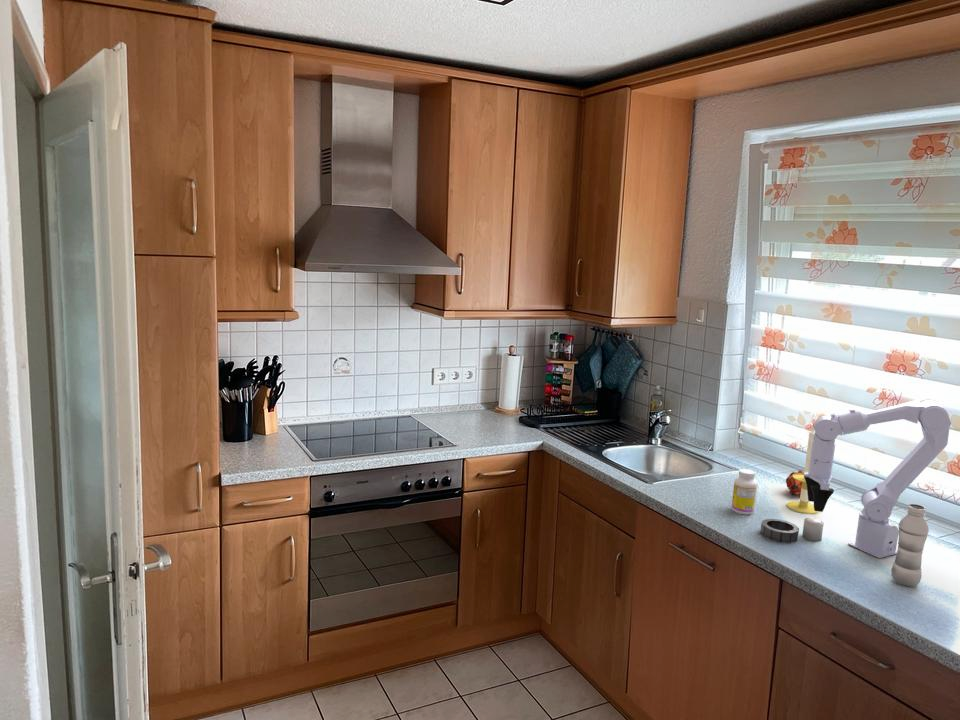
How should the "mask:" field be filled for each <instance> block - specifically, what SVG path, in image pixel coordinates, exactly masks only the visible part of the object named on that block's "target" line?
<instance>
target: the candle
mask: <svg viewBox="0 0 960 720" xmlns="http://www.w3.org/2000/svg"><path fill="white" fill-rule="evenodd" d="M814 434H815V430H814V427H813V426H812V429H811V430H810V431H809V433H808V441H807V447H806V448H807V449H806V454H805V455H806V456H805V463H804V470H803V473H804V472H808V471H809V464H810V457H811V449H812V442H813V441H814V440H813V437H814ZM793 478H794V479H795V480H797V481H800V482H802V488H801V495H799V496H800V497H799V501H797V500H791V501H787V502H786V507H787V508H788V509H789V510H791V511H793V512H797V513H800V514H806V515H807V514H808V515H815V514H817V513H818V514H819V511H815V510H814V503H809V501H808V494H807V485H806V481H805V478H804V474H800V473H799V474H794V475H793Z"/></svg>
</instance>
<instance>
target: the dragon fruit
mask: <svg viewBox="0 0 960 720" xmlns="http://www.w3.org/2000/svg"><path fill="white" fill-rule="evenodd" d="M799 473H800V474H804V471H803V470H798V471H797V472H794V471H793V472H791V473H789V475H788V476H787V477H786V479H785V483H786V487H787V489H788V490H789V492H790V495H791V496H795V497H796V496H800V495H801V488H802V482H800V481H797V480H795V479H794V478H793V475H794V474H799Z"/></svg>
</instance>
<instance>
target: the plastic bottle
mask: <svg viewBox="0 0 960 720" xmlns="http://www.w3.org/2000/svg"><path fill="white" fill-rule="evenodd" d="M906 513H907V514H906V515H905V516H903V517H902V518H901V519H900V521H899V523H898V531H899V534H898V540H897V549H896V551H897V554H895V557H894V558H895V559H894V562H893V564H892V566H891V578H892V579H893V580H894V582H896V583H897V584H900V585H903V586H904V587H905V586H906V587H916V586H918V585H919V584H920V583H921V580H922V562H923V561H922V558H923V551H924V547H925V543H926V541H927V538H928V534H929V531H930V529H929V525H928V522H927V521H926V520H925V517H926V507H925V506H922V505H921V504H917V503H910V504H908V507H907V510H906Z"/></svg>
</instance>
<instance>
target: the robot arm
mask: <svg viewBox="0 0 960 720" xmlns="http://www.w3.org/2000/svg"><path fill="white" fill-rule="evenodd" d="M899 420H905V421H908V422H912V423H914V424H918V422H919V424H920V426H921V431H922V437H923V438H922V439H921V440H920V441H919V443H917V444H916V446H915V447H913V449H912V450H911V451H910V452H909V453H908V454H907V455H906V456H905V457H904V458H903V460H902V461H901V462H899V464H897V466H896V467H895V468H894V469H893V470H892V471H891V472H890V474H888V475H887V477H885V479H884V480H883V481H881V482H879V483H877V484H876V485H875V486H873V487H872V488H870V489H867V490H865V491H864V492H863V494H862V495H861V496H860V497H861V498H860V501H861V504H862V506H863V508H862V510H861V511H860V512H859V513H858V522H857V528H856V534H855V540H853V541H849V542H847V545H848V546H851V547H854V548H855V549H858V550H860V551H862V552H865V553H867V554H869V555H871V556H873V557H875V558H878V559H881V558H884V557H889V556H892V555H896V554H897V547H898V540H899V527H898V526H896V525H895V524H893V523H892V522H891V521H890V517H891V515H892V512H893V509H894V507H896V505H897V503H898V501H899V498H900V496H901V494H903V492H905V491H906V489H907V488H908V487H909V486H910V485H911V484H912V483H913V482H914V481H915V480H916V479H917V478H918V477H919V476H920V474H921V473H923V471H924V470H926V468H927V467H928V466H929V465H930V464H931V463H932V462H933V461H934V460H935V459H936V457H938V455H939V454H941V453H942V451H943V450H945V448H946V447H947V446H948V443H949V434H950V433H949V432H950V427H951V425H952V421H951V418H950V415H949V413H948V411H947V410H946V408H945V407H942V405H941V404H940V403H939V402H938V401H936V400H935V399H932V398H925V399H924V398H923V399H921V400H918V399H917V400H911V401H907V402H902V403H900V404H896V405H892V406H888V407H884V408H880V409H876V410H873V411H869V412H865V411H863V410H861V409H857V410H856V409H855V408H850V409H849V411H846V412H843V413H838V414H835V413H831V414H830V416H827V415H822V416H819V417H818V418H817V419H815V420H814V423H813V426H812V428H813V427H814V430H815V434H814V437H813V440H814V441H813V442H812V449H811V457H810V464H809V471H808V472H804V471H803V473H804V478H805V481H806V485H807V494H808V502H813V505H814V510H815V511H819V512H820V513H823V512H824V511H825V507H826V505H827V502H828V500H829V499H830V497H831V496H832V495H833V494H834V491H835V490H834V488H832V487H830V486H831V485H830V483H831V481H832V473H833V464H834V463H833V462H834V457H835V456H834V454H835V449H836V448H835V447H836V444H835V443H836V439H837V437H838V436H845V435H849V434H854V433H860V432H864V431H867V430H868V429H869V427H870V426H871V425H876V424H882V423H888V422H894V421H899Z"/></svg>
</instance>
